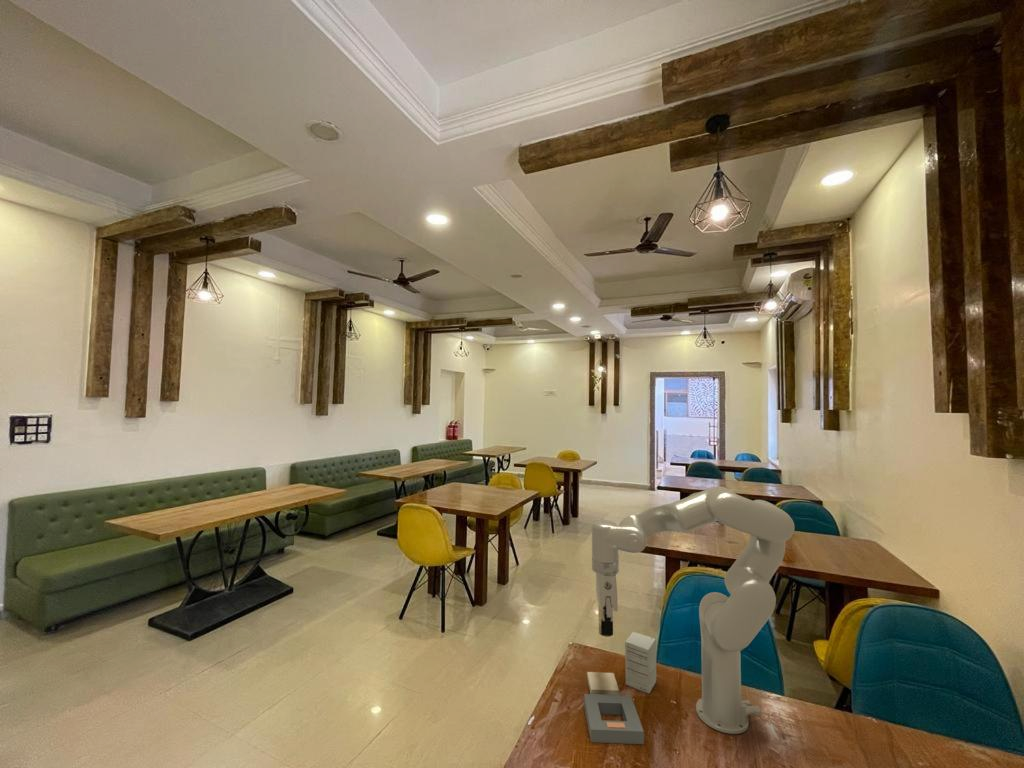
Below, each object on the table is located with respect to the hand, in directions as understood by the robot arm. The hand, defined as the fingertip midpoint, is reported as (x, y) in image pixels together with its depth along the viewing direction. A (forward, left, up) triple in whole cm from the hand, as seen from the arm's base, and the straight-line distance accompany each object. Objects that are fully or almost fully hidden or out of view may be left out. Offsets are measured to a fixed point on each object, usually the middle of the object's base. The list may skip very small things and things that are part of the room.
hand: (605, 629), depth 121 cm
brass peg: (0, 0, -1) cm, 1 cm away
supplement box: (-12, -8, -19) cm, 24 cm away
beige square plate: (0, -5, -19) cm, 20 cm away
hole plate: (0, +9, -19) cm, 21 cm away
